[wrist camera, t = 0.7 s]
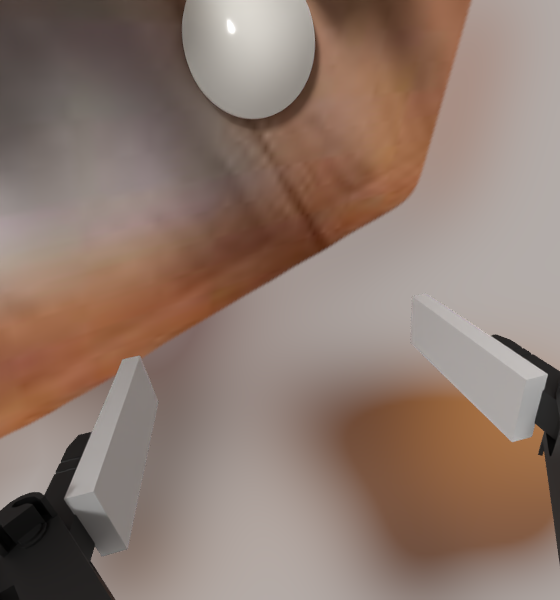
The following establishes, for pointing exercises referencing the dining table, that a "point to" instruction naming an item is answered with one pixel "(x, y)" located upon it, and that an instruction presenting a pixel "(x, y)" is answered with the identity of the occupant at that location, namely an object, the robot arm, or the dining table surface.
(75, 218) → the dining table surface
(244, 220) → the dining table surface
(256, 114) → the white plate
